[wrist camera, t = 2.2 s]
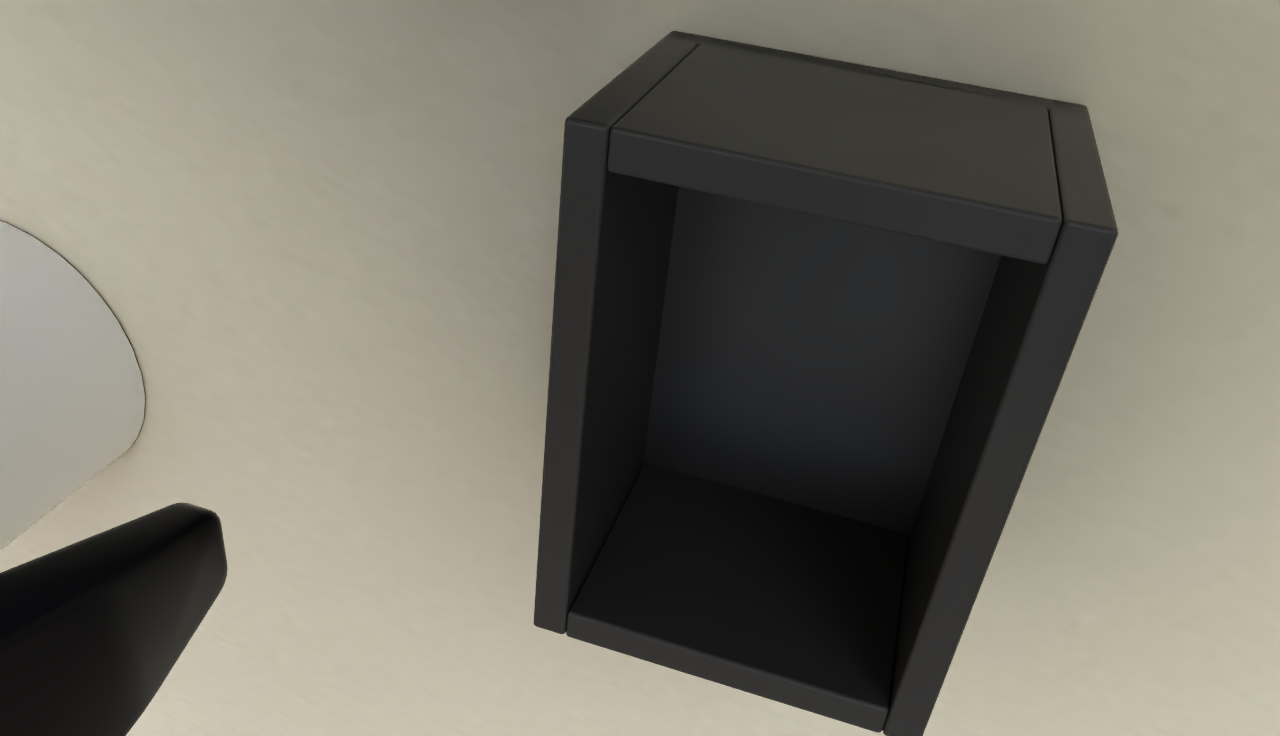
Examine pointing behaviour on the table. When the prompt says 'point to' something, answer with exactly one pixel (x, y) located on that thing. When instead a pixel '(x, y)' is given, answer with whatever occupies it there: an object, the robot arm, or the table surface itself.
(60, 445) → the cylindrical container
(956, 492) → the black bin
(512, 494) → the table surface
